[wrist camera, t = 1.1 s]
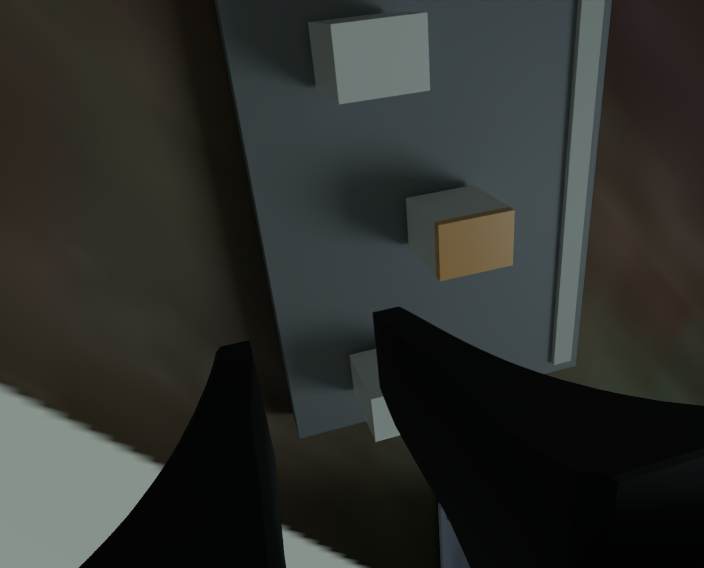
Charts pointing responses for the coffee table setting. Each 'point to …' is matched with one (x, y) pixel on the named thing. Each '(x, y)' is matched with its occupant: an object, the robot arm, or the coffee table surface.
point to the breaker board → (418, 180)
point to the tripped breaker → (460, 232)
